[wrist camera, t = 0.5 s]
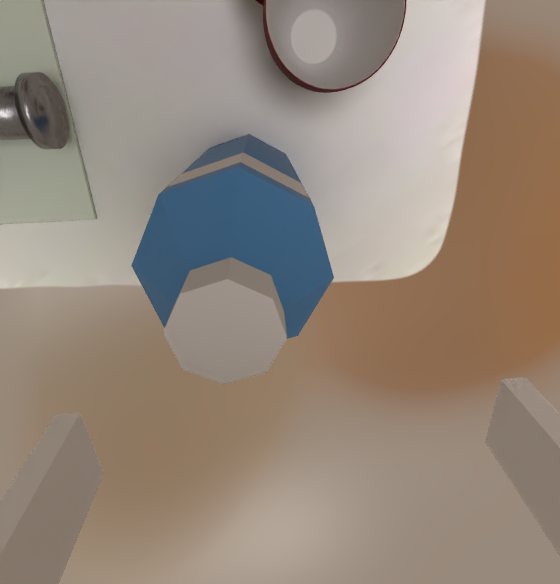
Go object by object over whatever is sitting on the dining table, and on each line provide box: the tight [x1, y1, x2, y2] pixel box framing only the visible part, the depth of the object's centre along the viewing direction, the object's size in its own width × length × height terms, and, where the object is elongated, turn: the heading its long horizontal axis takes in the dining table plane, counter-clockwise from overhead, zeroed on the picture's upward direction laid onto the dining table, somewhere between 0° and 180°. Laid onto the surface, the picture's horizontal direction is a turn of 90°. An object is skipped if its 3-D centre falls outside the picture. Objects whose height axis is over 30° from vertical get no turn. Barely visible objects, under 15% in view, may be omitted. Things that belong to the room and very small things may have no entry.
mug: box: [256, 0, 406, 93], centre depth 26 cm, size 10×8×10 cm
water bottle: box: [132, 134, 334, 384], centre depth 24 cm, size 9×9×25 cm
